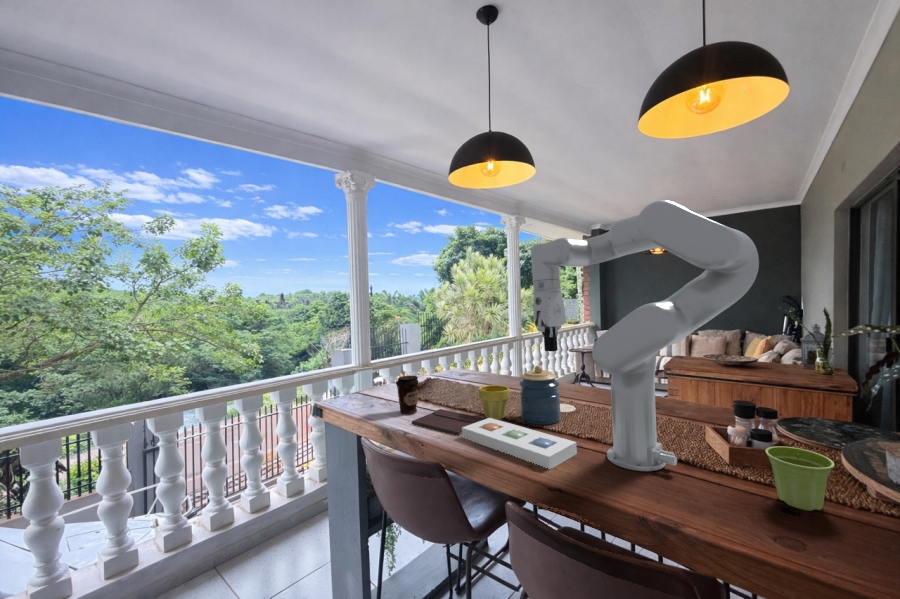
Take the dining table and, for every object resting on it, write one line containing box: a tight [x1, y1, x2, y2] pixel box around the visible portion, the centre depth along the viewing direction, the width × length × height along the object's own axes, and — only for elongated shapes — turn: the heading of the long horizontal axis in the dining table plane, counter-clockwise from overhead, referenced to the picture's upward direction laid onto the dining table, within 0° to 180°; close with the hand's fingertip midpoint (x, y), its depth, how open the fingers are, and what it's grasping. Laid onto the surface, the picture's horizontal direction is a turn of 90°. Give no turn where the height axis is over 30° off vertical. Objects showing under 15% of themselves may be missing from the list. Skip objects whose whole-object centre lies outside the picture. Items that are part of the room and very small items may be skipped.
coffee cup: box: [395, 374, 419, 415], centre depth 138 cm, size 9×8×13 cm
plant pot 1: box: [478, 384, 510, 420], centre depth 128 cm, size 10×10×10 cm
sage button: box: [506, 430, 524, 440], centre depth 103 cm, size 5×5×3 cm
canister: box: [518, 365, 562, 425], centre depth 124 cm, size 13×13×18 cm
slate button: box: [533, 438, 552, 449], centre depth 96 cm, size 5×5×3 cm
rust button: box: [483, 423, 499, 432], centre depth 109 cm, size 5×5×3 cm
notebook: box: [411, 408, 487, 437], centre depth 124 cm, size 15×20×2 cm
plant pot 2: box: [765, 445, 835, 511], centre depth 70 cm, size 9×9×9 cm
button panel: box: [461, 418, 578, 470], centre depth 103 cm, size 30×12×3 cm, turn 41°
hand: (551, 350), depth 107 cm, fingers closed
